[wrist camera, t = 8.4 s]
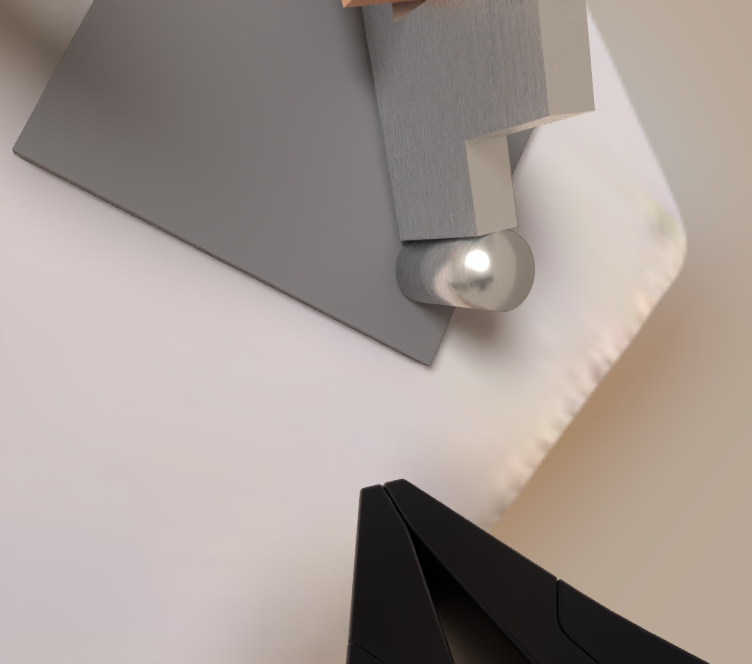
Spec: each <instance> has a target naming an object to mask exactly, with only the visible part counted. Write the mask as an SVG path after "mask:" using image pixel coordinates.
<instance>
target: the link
mask: <svg viewBox="0 0 752 664" xmlns="http://www.w3.org/2000/svg"><path fill="white" fill-rule="evenodd" d="M361 8H362V14H363V20H364V26H365V32H366V38H367V44H368V49H369V55H370V61H371V67H372V73H373V79H374V85H375V91H376V97H377V103H378V109H379V115H380V121H381V127H382V133H383V139H384V145H385V151H386V157H387V163H388V169H389V175H390V181H391V187H392V193H393V198H394V204H395V210H396V216H397V222H398V228H399V234H400V240H401V241H403V240H410V241H408V242H407V243H406V244H405V245H404V246H403V248H402V249H401V251H400V253H399V255H398V258H397V262H396V278H397V282H398V285H399V287H400V289H401V290H402V292H403V293H404V294H405V295H406V296H407V297H408V298H410V299H411V300H413V301H416V302H422V303H431V304H439V305H448V306H457V307H465V308H474V309H482V310H491V311H499V312H506V311H510V310H513V309H515V308H516V307H518V306H519V305H520V304H521V303H522V302H523V301H524V300H525V299H526V297H527V296H528V294H529V292H530V290H531V287H532V284H533V280H534V274H535V265H534V258H533V254H532V252H531V249H530V247H529V245H528V244H527V242H526V241H525V240H524V239H523V238H522V237H521V236H520V235H518V234H517V233H514V232H512V231H502V230H506V229H510V228H515V227H517V219H516V211H515V202H514V194H513V186H512V177H511V169H510V161H509V152H508V144H507V136H506V135H508V134H512V133H516V132H519V131H523V130H526V129H530V128H534V127H537V126H541V125H544V124H548V123H552V122H555V121H559V120H562V119H566V118H570V117H573V116H577V115H580V114H584V113H588V112H591V111H595V107H594V95H593V83H592V72H591V60H590V48H589V36H588V25H587V13H586V1H585V0H414V1H404V2H395V3H385V4H375V5H365V6H361Z"/></svg>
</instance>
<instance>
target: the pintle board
mask: <svg viewBox="0 0 752 664" xmlns="http://www.w3.org/2000/svg"><path fill="white" fill-rule="evenodd" d="M404 1H414V0H94V1H93V3H92V5H91V7H90V9H89V10H88V12H87V14H86V16H85V18H84V20H83V21H82V23H81V25H80V27H79V29H78V30H77V32H76V34H75V36H74V38H73V40H72V41H71V43H70V45H69V47H68V49H67V51H66V52H65V54H64V56H63V58H62V60H61V61H60V63H59V65H58V67H57V69H56V71H55V72H54V74H53V76H52V78H51V80H50V81H49V83H48V85H47V87H46V89H45V91H44V92H43V94H42V96H41V98H40V100H39V102H38V103H37V105H36V107H35V109H34V111H33V112H32V114H31V116H30V118H29V120H28V122H27V123H26V125H25V127H24V129H23V131H22V132H21V134H20V136H19V138H18V140H17V142H16V143H15V145H14V147H13V149H12V150H13V152H14V154H15V155H17V156H19V157H21V158H23V159H25V160H27V161H29V162H31V163H33V164H35V165H37V166H39V167H41V168H43V169H44V170H46V171H48V172H50V173H52V174H54V175H56V176H58V177H60V178H62V179H64V180H66V181H68V182H70V183H72V184H74V185H76V186H77V187H79V188H81V189H83V190H85V191H87V192H89V193H91V194H93V195H95V196H97V197H99V198H101V199H103V200H105V201H107V202H109V203H110V204H112V205H114V206H116V207H118V208H120V209H122V210H124V211H126V212H128V213H130V214H132V215H134V216H136V217H138V218H140V219H142V220H143V221H145V222H147V223H149V224H151V225H153V226H155V227H157V228H159V229H161V230H163V231H165V232H167V233H169V234H171V235H173V236H174V237H176V238H178V239H180V240H182V241H184V242H186V243H188V244H190V245H192V246H194V247H196V248H198V249H200V250H202V251H204V252H206V253H207V254H209V255H211V256H213V257H215V258H217V259H219V260H221V261H223V262H225V263H227V264H229V265H231V266H233V267H235V268H237V269H239V270H240V271H242V272H244V273H246V274H248V275H250V276H252V277H254V278H256V279H258V280H260V281H262V282H264V283H266V284H268V285H270V286H272V287H273V288H275V289H277V290H279V291H281V292H283V293H285V294H287V295H289V296H291V297H293V298H295V299H297V300H299V301H301V302H303V303H304V304H306V305H308V306H310V307H312V308H314V309H316V310H318V311H320V312H322V313H324V314H326V315H328V316H330V317H332V318H334V319H336V320H337V321H339V322H341V323H343V324H345V325H347V326H349V327H351V328H353V329H355V330H357V331H359V332H361V333H363V334H365V335H367V336H369V337H370V338H372V339H374V340H376V341H378V342H380V343H382V344H384V345H386V346H388V347H390V348H392V349H394V350H396V351H398V352H400V353H402V354H403V355H405V356H407V357H409V358H411V359H413V360H415V361H417V362H419V363H422V364H425V365H429V366H430V364H431V362H432V360H433V357H434V355H435V353H436V350H437V348H438V346H439V343H440V341H441V339H442V336H443V334H444V332H445V329H446V327H447V325H448V322H449V320H450V318H451V315H452V313H453V311H454V308H455V306H448V305H439V304H431V303H422V302H416V301H413V300H411V299H410V298H408V297H407V296H406V295H405V294H404V293H403V292H402V290H401V289H400V287H399V285H398V282H397V278H396V262H397V258H398V255H399V253H400V251H401V249H402V248H403V246H404V245H405V244H406V243H407V242H408V241H410V240H403V241H401V240H400V234H399V228H398V222H397V216H396V210H395V204H394V198H393V193H392V187H391V181H390V175H389V169H388V163H387V157H386V151H385V145H384V139H383V133H382V127H381V121H380V115H379V109H378V103H377V97H376V91H375V85H374V79H373V73H372V67H371V61H370V55H369V49H368V44H367V38H366V32H365V26H364V20H363V14H362V8H361V6H365V5H375V4H385V3H395V2H404ZM531 129H532V128H530V129H526V130H523V131H519V132H516V133H512V134H508V135H506V136H507V144H508V152H509V161H510V169H511V176H512V174H513V171H514V169H515V167H516V164H517V162H518V160H519V157H520V155H521V153H522V150H523V148H524V146H525V143H526V141H527V139H528V136H529V134H530V132H531Z"/></svg>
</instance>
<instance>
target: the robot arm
mask: <svg viewBox="0 0 752 664" xmlns="http://www.w3.org/2000/svg"><path fill="white" fill-rule="evenodd" d="M346 664H709V663H708V662H705V661H704V660H702V659H700V658H698V657H696V656H694V655H692V654H690V653H688V652H686V651H685V650H683V649H681V648H679V647H677V646H675V645H673V644H672V643H670V642H668V641H666V640H664V639H662V638H660V637H658V636H656V635H655V634H652V633H650V632H648V631H647V630H645V629H643V628H641V627H640V626H638V625H636V624H634V623H632V622H631V621H629V620H627V619H625V618H623V617H622V616H620V615H618V614H616V613H615V612H613V611H611V610H609V609H608V608H606V607H604V606H603V605H601V604H600V603H598V602H596V601H595V600H593V599H591V598H590V597H588V596H587V595H585V594H583V593H582V592H580V591H578V590H577V589H575V588H574V587H572V586H571V585H569V584H568V583H566V582H564V581H563V580H561V579H560V580H558V581H557V578H556V577H555V576H554V575H552V574H551V573H549V572H548V571H546V570H544V569H543V568H542V567H540V566H538V565H537V564H535V563H534V562H532V561H531V560H529V559H528V558H526V557H525V556H523V555H521V554H520V553H518V552H517V551H515V550H513V549H512V548H511V547H509V546H507V545H506V544H504V543H503V542H501V541H500V540H498V539H497V538H495V537H494V536H492V535H490V534H489V533H487V532H486V531H484V530H483V529H481V528H480V527H478V526H477V525H475V524H473V523H472V522H470V521H469V520H467V519H466V518H464V517H463V516H461V515H460V514H458V513H456V512H455V511H453V510H452V509H450V508H449V507H447V506H446V505H444V504H443V503H441V502H439V501H438V500H436V499H435V498H433V497H432V496H430V495H429V494H427V493H426V492H424V491H422V490H421V489H419V488H418V487H416V486H415V485H413V484H412V483H410V482H408V481H407V480H405V479H399V480H394V481H390V482H386V483H385V484H384V485H383V486H382V485H380V484H378V485H374V486H370V487H366V488H362V489H361V490H360V497H359V510H358V522H357V535H356V548H355V560H354V573H353V585H352V598H351V611H350V623H349V636H348V646H347V657H346Z"/></svg>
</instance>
